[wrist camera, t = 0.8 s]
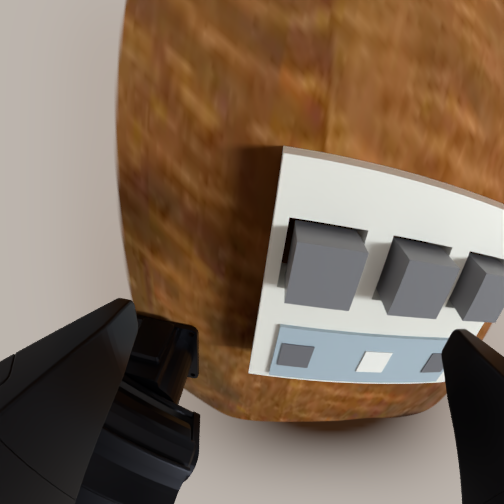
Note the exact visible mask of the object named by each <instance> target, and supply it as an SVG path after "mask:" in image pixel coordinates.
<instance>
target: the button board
mask: <svg viewBox="0 0 504 504" xmlns="http://www.w3.org/2000/svg"><path fill="white" fill-rule="evenodd" d="M289 217H290V218H296V219H303V220H309V221H315V222H321V223H327V224H333V225H339V226H345V227H351V228H352V230H357V232H358V234H359V235H360V237H361V239H362V241H363V243H364V245H365V247H366V249H367V251H368V253H369V254H368V257H367V260H366V263H365V266H364V269H363V272H362V275H361V278H360V281H359V284H358V287H357V290H356V293H355V296H354V298H353V301H352V304H351V307H350V309H349V311H343V310H334V309H326V308H318V307H310V306H302V305H295V304H287V303H284V290H285V271H286V266H287V263H281V262H282V257H283V251H284V246H285V240H286V234H287V229H288V223H289ZM393 236H399V237H405V238H410V239H415V240H420V241H425V242H428V244H431V245H436V246H441V248H442V249H443V250H444V251H445V252H446V253H447V254H448V255H449V256H450V258H451V259H452V260H453V261H454V262H455V263H456V264H457V266H458V267H459V268H460V270H459V273H458V275H457V277H456V279H455V282H454V284H453V286H452V288H451V290H450V292H449V294H448V296H447V299H446V301H445V303H444V305H443V307H442V309H441V310H440V312H439V314H438V316H437V318H436V319H427V318H414V317H402V316H391V315H387V313H386V311H385V308H384V306H383V303H382V301H381V299H380V296H379V294H378V291H377V289H376V286H377V283H378V281H379V278H380V275H381V272H382V269H383V267H384V264H385V261H386V258H387V255H388V252H389V249H390V246H391V243H392V240H393ZM470 251H471V252H475V253H480V254H484V255H483V256H486V257H491V258H495V259H498V260H499V261H500V262H501V263H502V264H503V265H504V204H502V203H500V202H497V201H495V200H492V199H490V198H487V197H484V196H482V195H479V194H476V193H473V192H470V191H468V190H465V189H462V188H459V187H456V186H453V185H450V184H447V183H444V182H440V181H437V180H434V179H431V178H427V177H424V176H420V175H417V174H413V173H410V172H406V171H402V170H399V169H395V168H391V167H387V166H383V165H379V164H375V163H371V162H366V161H362V160H357V159H353V158H348V157H343V156H338V155H333V154H328V153H323V152H317V151H312V150H306V149H300V148H294V147H288V146H283V152H282V159H281V166H280V173H279V180H278V187H277V194H276V200H275V207H274V214H273V220H272V227H271V233H270V240H269V246H268V253H267V259H266V266H265V272H264V278H263V284H262V291H261V297H260V303H259V309H258V315H257V321H256V327H255V333H254V339H253V345H252V352H251V359H250V366H249V373H251V374H258V375H266V376H274V377H282V378H291V379H301V380H313V381H326V382H343V383H371V384H407V383H434V382H444V381H445V377H444V370H443V364H442V359H441V353H442V349H443V347H444V346H445V344H446V342H447V340H448V339H449V337H450V335H451V333H452V332H453V331H454V330H455V329H466V330H468V331H469V332H471V333H472V334H474V335H475V336H476V335H477V333H478V332H479V330H480V329H481V327H482V325H483V323H484V322H473V321H462V319H461V317H460V316H459V314H458V313H457V311H456V310H455V308H454V307H453V305H452V303H451V302H450V300H449V298H450V296H451V294H452V291H453V289H454V287H455V285H456V283H457V281H458V279H459V276H460V274H461V272H462V269H463V267H464V265H465V262H466V260H467V257H468V255H469V252H470Z"/></svg>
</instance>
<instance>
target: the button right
mask: <svg viewBox="0 0 504 504" xmlns="http://www.w3.org/2000/svg"><path fill="white" fill-rule="evenodd" d="M449 300H450V302H451V303H452V305H453V307H454V308H455V310H456V311H457V313H458V314H459V316H460V317H461V319H462V321H473V322H496V320H497V319H498V317H499V315H500V313H501V311H502V310H503V308H504V265H503V264H502V263H501V262H500V261H499V260H498V259H495V258H491V257H486V256H482V255H478V254H473V253H469V255H468V257H467V260H466V262H465V265H464V267H463V269H462V272H461V274H460V276H459V279H458V281H457V283H456V285H455V287H454V289H453V291H452V294H451V296H450V298H449Z"/></svg>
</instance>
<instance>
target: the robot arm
mask: <svg viewBox="0 0 504 504" xmlns="http://www.w3.org/2000/svg"><path fill="white" fill-rule="evenodd" d="M191 332H192V333H191ZM193 333H194V334H193ZM441 359H442V364H443V370H444V377H445V383H446V390H447V397H448V403H449V408H450V412H451V418H452V423H453V428H454V434H455V440H456V447H457V454H458V460H459V469H460V479H461V492H462V504H504V357H503V356H502V355H500V354H499V353H498V352H496V351H495V350H494V349H493V348H491V347H490V346H488V345H487V344H486V343H484V342H483V341H482V340H480V339H479V338H478V337H476V336H475V335H474V334H472V333H471V332H469V331H468V330H466V329H455V330H454V331H453V332H452V333H451V335H450V337H449V339H448V340H447V342H446V344H445V346H444V347H443V349H442V353H441ZM198 374H199V340H198V330H197V329H196V328H194V327H190V326H185V325H180V324H175V323H170V322H166V321H161V320H156V319H152V318H147V317H143V316H139V315H136V311H135V306H134V303H133V301H131V300H128V299H122V298H118V299H116V300H114V301H112V302H110V303H108V304H106V305H104V306H102V307H100V308H98V309H97V310H95V311H93V312H91V313H89V314H87V315H85V316H83V317H81V318H79V319H78V320H76V321H74V322H72V323H71V324H68V325H66V326H64V327H63V328H61V329H59V330H57V331H55V332H53V333H52V334H50V335H48V336H46V337H44V338H42V339H40V340H39V341H37V342H35V343H33V344H31V345H29V346H27V347H26V348H24V349H22V350H20V351H18V352H17V353H16V354H13V355H11V356H9V357H8V358H6V359H4V360H2V361H1V362H0V504H174V502H175V499H176V496H177V494H178V491H179V489H180V487H181V485H182V483H183V482H184V481H186V480H187V479H188V477H189V476H190V475H191V473H192V472H193V470H194V468H195V466H196V463H197V460H198V455H199V432H200V414H198V413H196V412H191V411H189V410H187V409H185V408H183V407H181V406H179V405H178V404H179V400H180V397H181V394H182V391H183V388H184V385H185V382H186V379H187V377H191V378H197V377H198Z"/></svg>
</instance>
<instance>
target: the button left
mask: <svg viewBox="0 0 504 504" xmlns="http://www.w3.org/2000/svg"><path fill="white" fill-rule="evenodd" d="M368 254H369V253H368V251H367V249H366V247H365V245H364V243H363V241H362V239H361V237H360V235H359V234H358V232H357V230H352V229H346V228H341V227H335V226H329V225H323V224H317V223H310V222H304V221H298V220H295V224H294V230H293V235H292V240H291V246H290V251H289V256H288V261H287V266H286V271H285V290H284V303H287V304H295V305H302V306H310V307H318V308H326V309H334V310H343V311H349V309H350V307H351V304H352V301H353V298H354V296H355V293H356V290H357V287H358V284H359V281H360V278H361V275H362V272H363V269H364V266H365V263H366V260H367V257H368Z"/></svg>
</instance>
